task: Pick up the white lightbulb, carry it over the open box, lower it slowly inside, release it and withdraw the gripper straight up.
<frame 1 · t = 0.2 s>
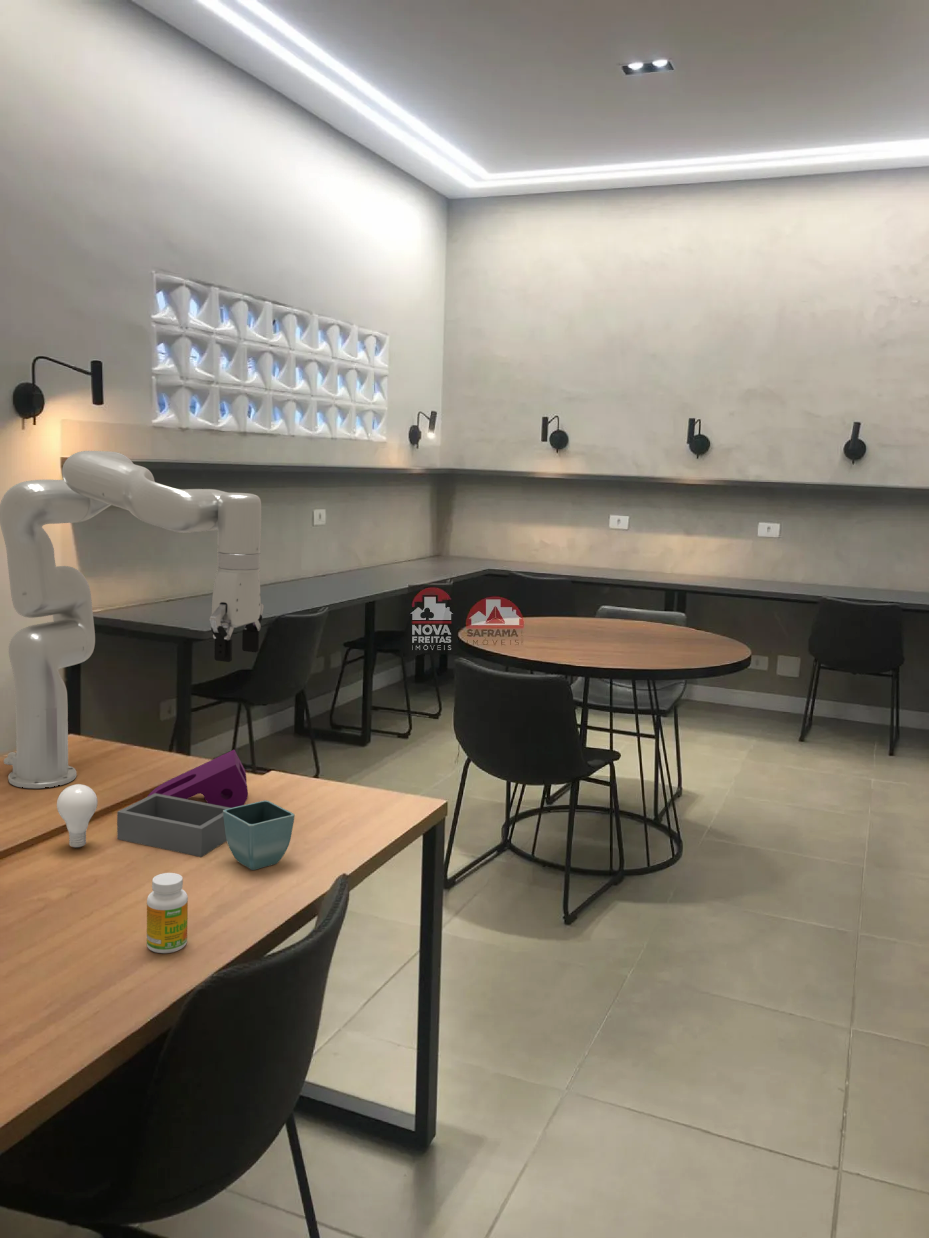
hand: (237, 656, 177), 31 cm above the table, tool pointing down, fingers open, 9 cm apart
supplement bottle: (167, 945, 135), on the table
mounting bracket: (197, 806, 187), on the table
lightbulb: (77, 848, 165), on the table
flower pot: (257, 863, 163), on the table
open box: (177, 837, 171), on the table
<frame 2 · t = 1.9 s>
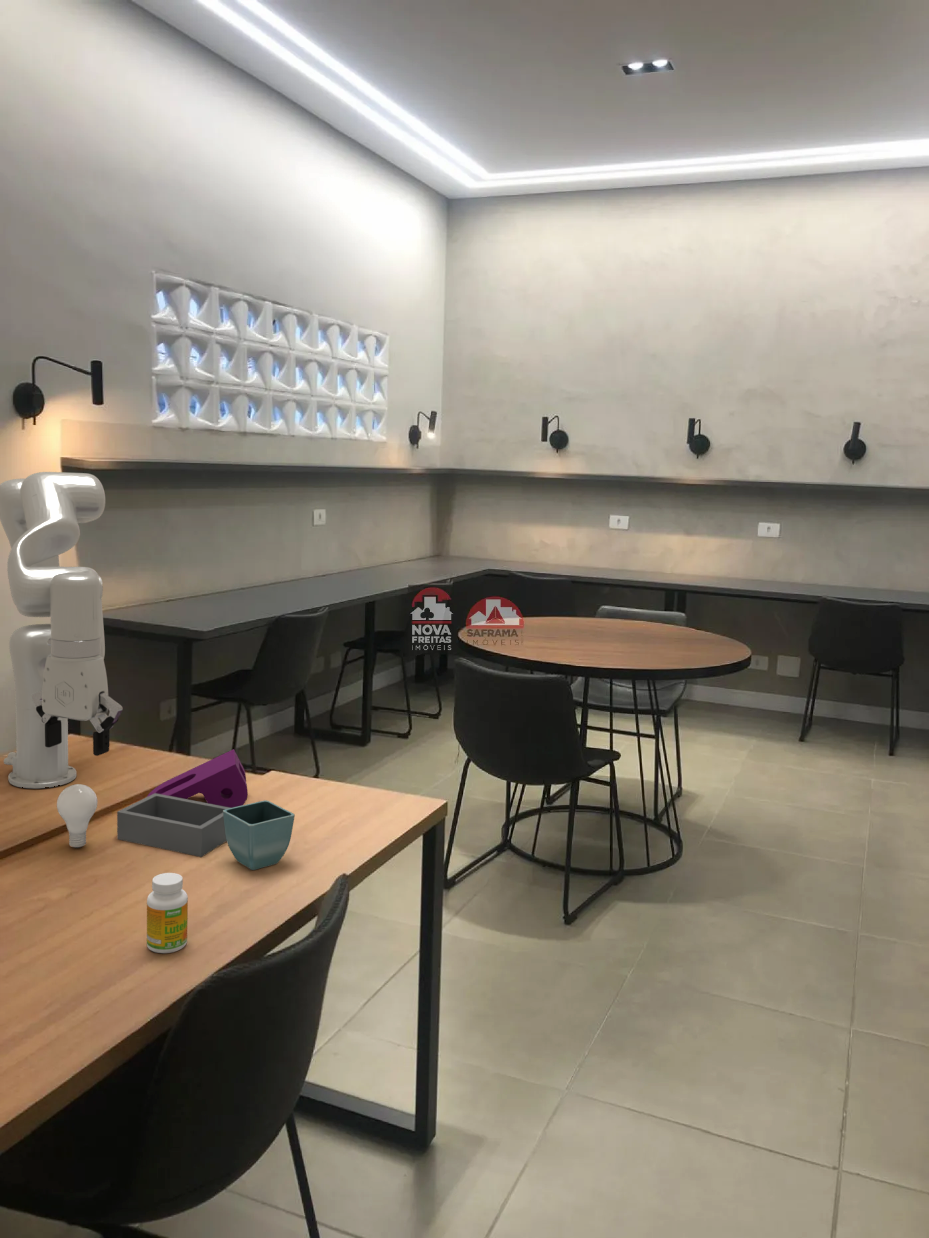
hand: (77, 749, 162), 17 cm above the table, tool pointing down, fingers open, 9 cm apart
nothing on the table moved.
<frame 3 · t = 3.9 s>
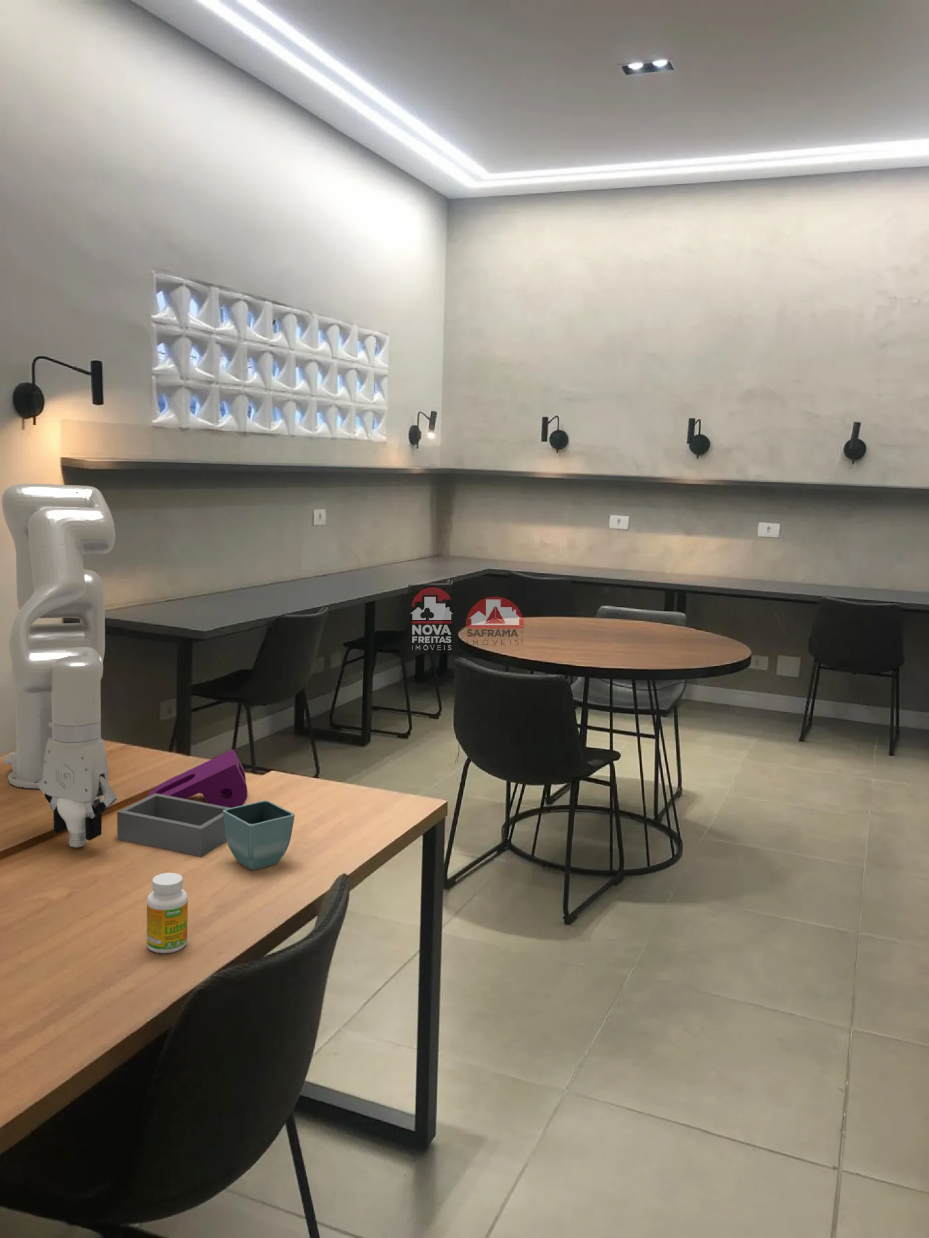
hand: (77, 833, 164), 3 cm above the table, tool pointing down, fingers closed on lightbulb, 5 cm apart
lightbulb: (77, 848, 165), on the table, touching gripper
everything else where it was.
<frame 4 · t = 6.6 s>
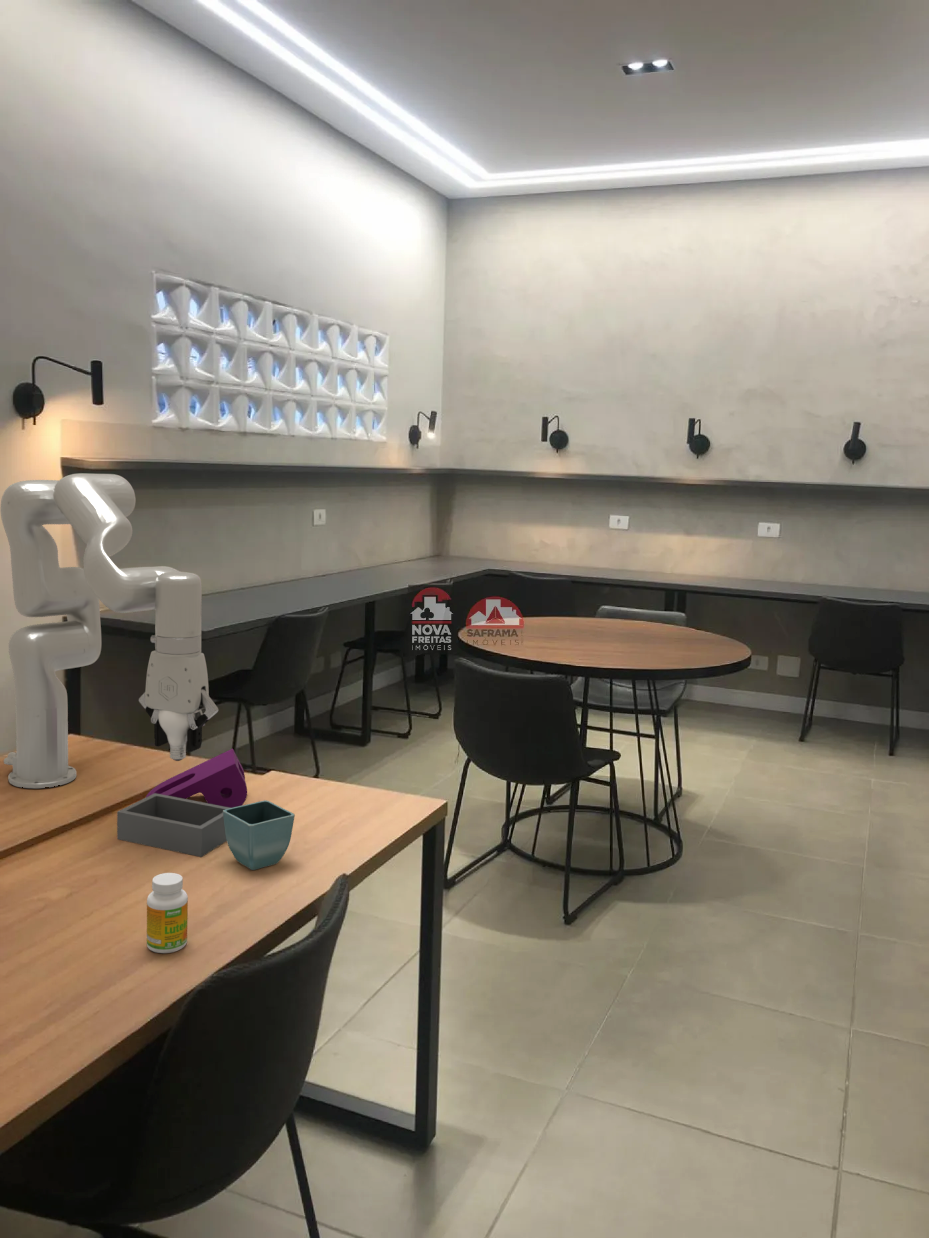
hand: (177, 746, 168), 17 cm above the table, tool pointing down, fingers closed on lightbulb, 5 cm apart
lightbulb: (177, 761, 169), point 14 cm above the table, touching gripper
everything else where it was.
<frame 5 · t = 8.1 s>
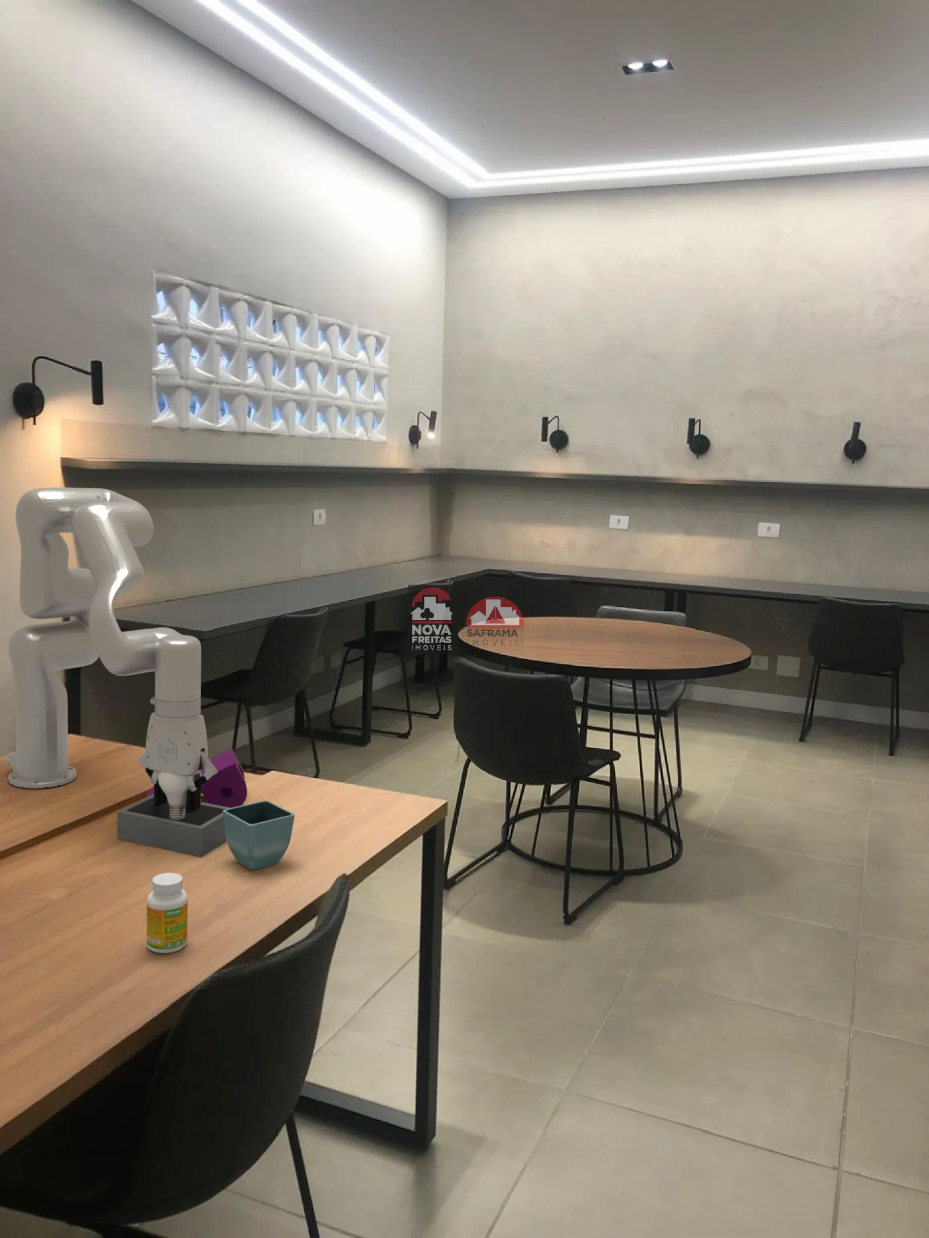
hand: (177, 806, 170), 6 cm above the table, tool pointing down, fingers closed on lightbulb, 5 cm apart
lightbulb: (177, 821, 171), point 3 cm above the table, touching gripper
everything else where it was.
when the fingers open (5 cm above the table, at t = 9.2 s): lightbulb drops 1 cm, resting on open box.
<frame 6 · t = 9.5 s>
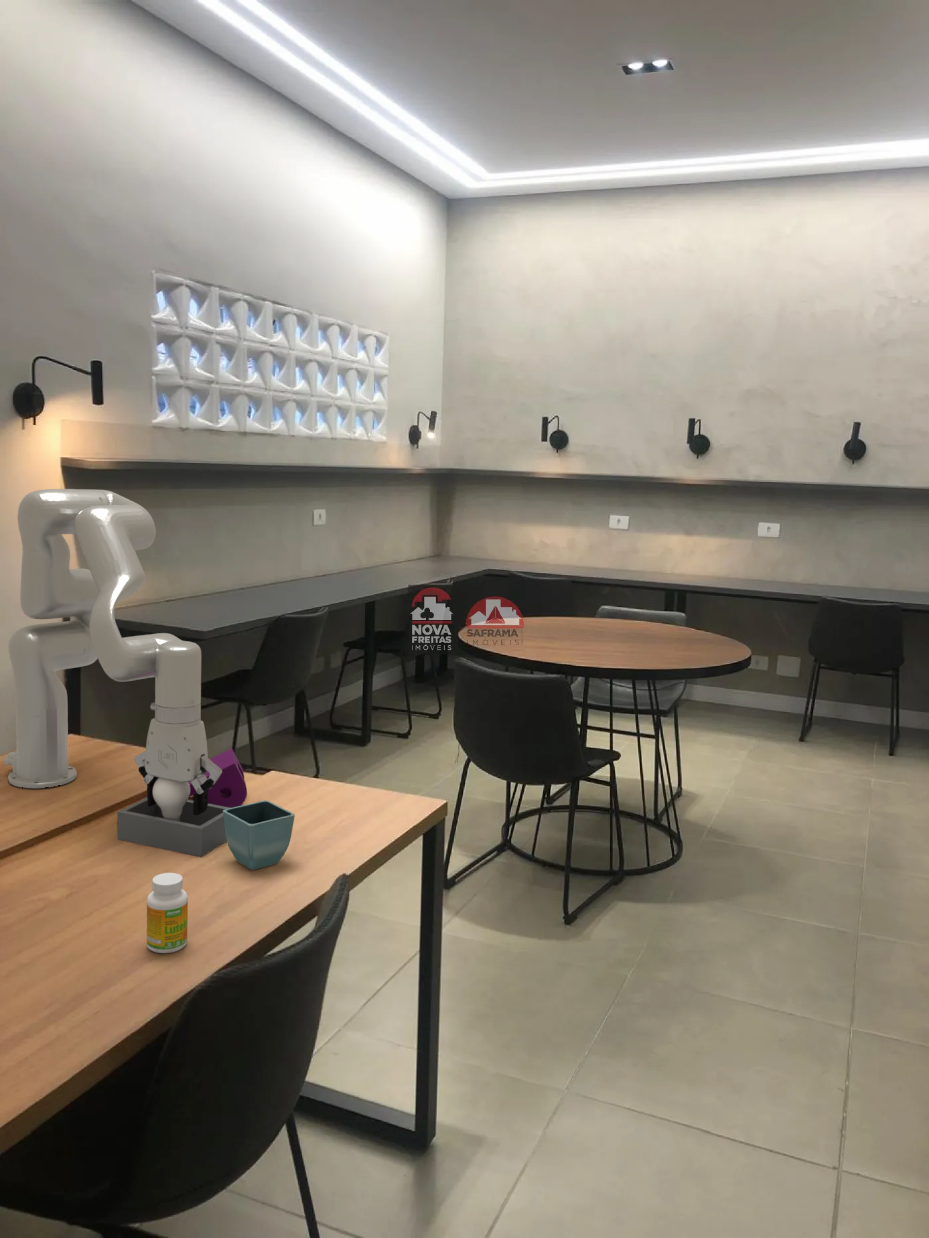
hand: (177, 808, 170), 5 cm above the table, tool pointing down, fingers open, 9 cm apart
lightbulb: (172, 834, 171), resting on open box
everything else where it was.
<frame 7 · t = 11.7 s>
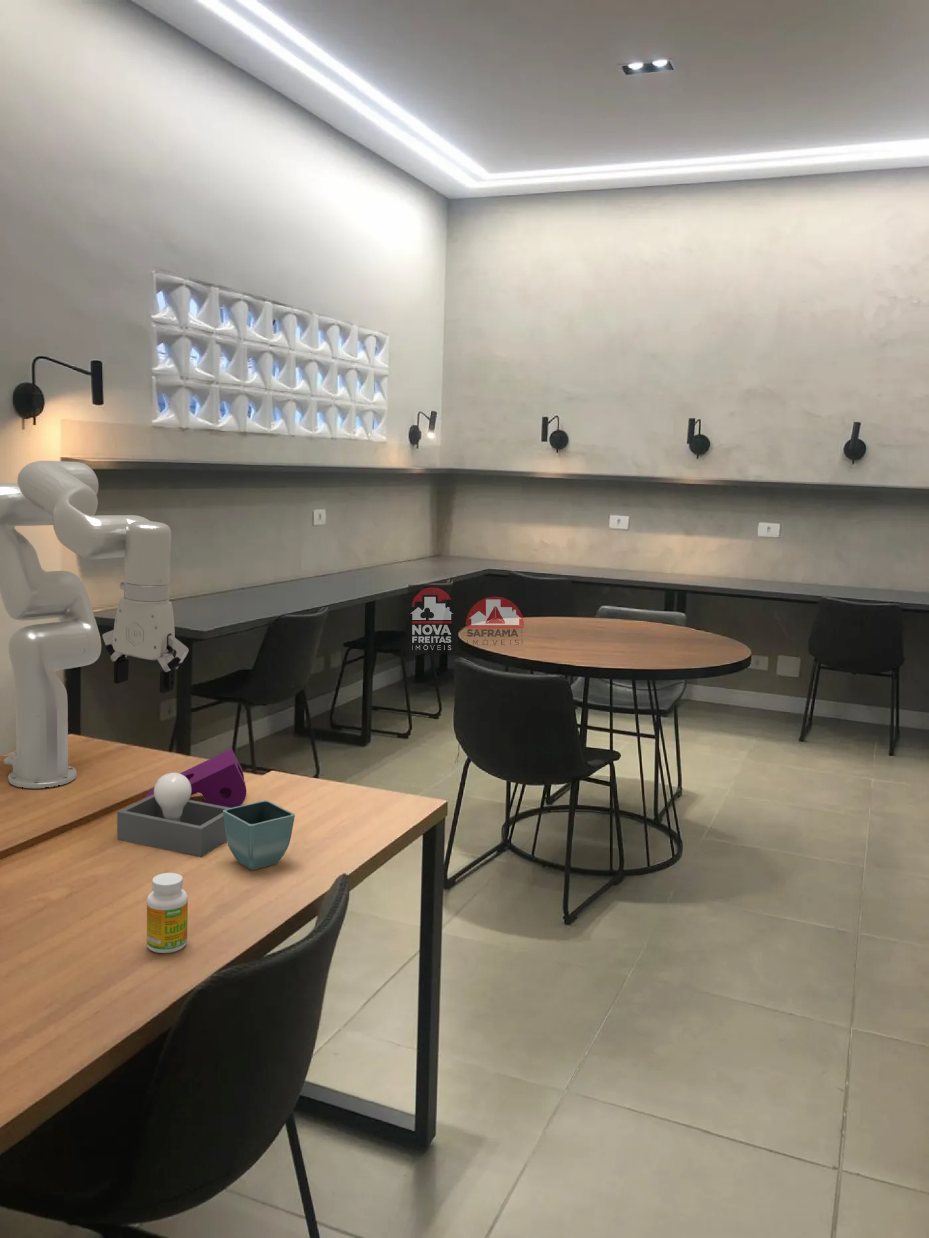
hand: (143, 686, 173), 25 cm above the table, tool pointing down, fingers open, 9 cm apart
nothing on the table moved.
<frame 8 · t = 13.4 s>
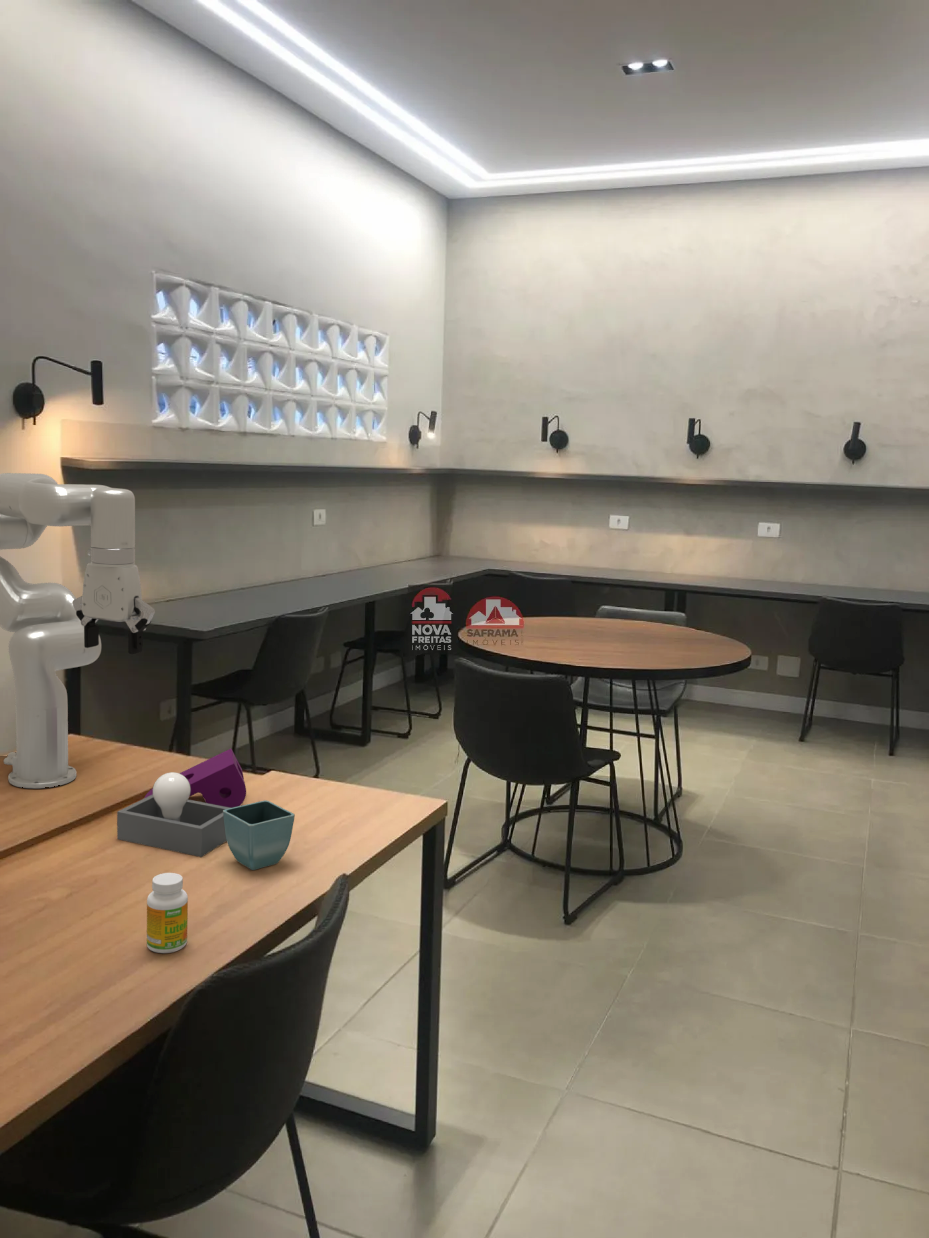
hand: (113, 649, 179), 30 cm above the table, tool pointing down, fingers open, 9 cm apart
nothing on the table moved.
at the end: lightbulb inside the target area on the open box (0.9 cm from its centre), point 0.4 cm above the open box's base; the gripper is holding nothing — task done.
